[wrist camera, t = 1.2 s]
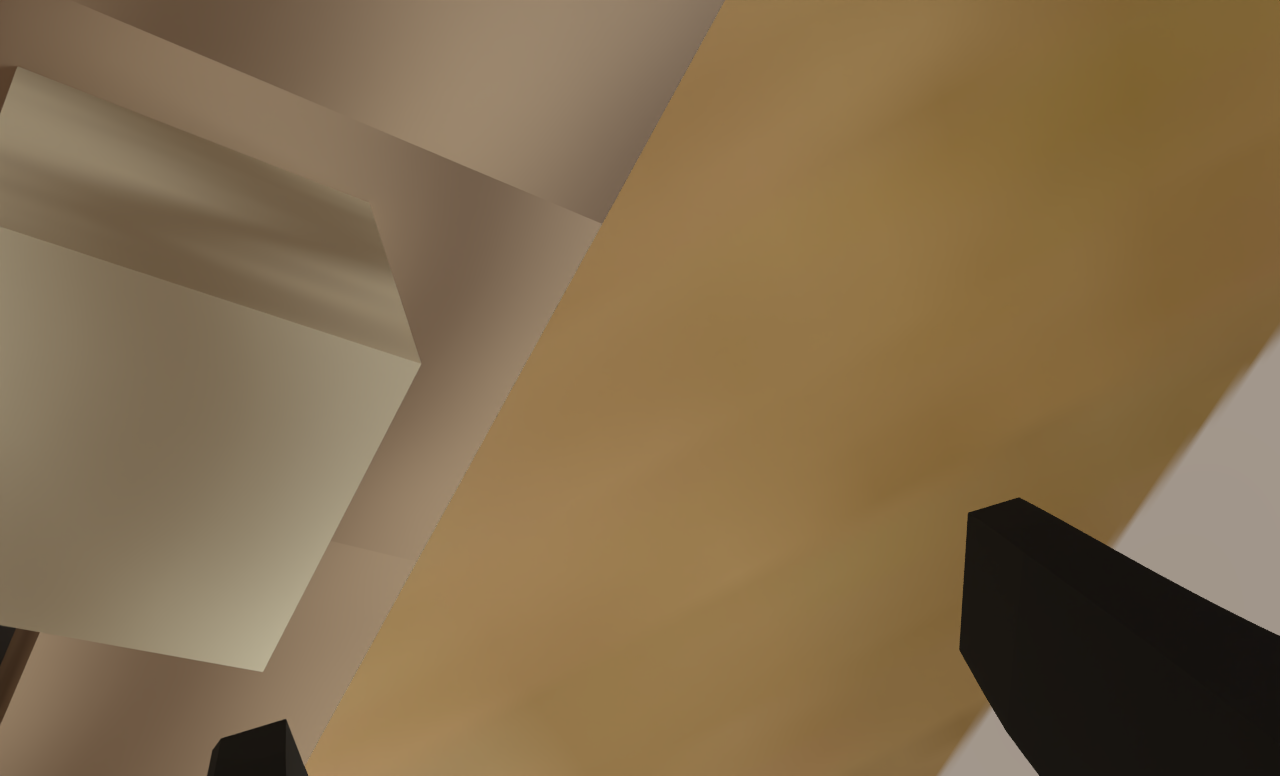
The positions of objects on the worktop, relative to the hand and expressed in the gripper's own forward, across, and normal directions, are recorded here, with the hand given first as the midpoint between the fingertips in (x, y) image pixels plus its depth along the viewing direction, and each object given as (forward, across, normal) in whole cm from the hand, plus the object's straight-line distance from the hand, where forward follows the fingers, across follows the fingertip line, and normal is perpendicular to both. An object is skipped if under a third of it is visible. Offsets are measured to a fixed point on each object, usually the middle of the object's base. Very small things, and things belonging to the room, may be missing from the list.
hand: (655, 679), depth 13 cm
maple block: (+7, +5, -2) cm, 9 cm away
